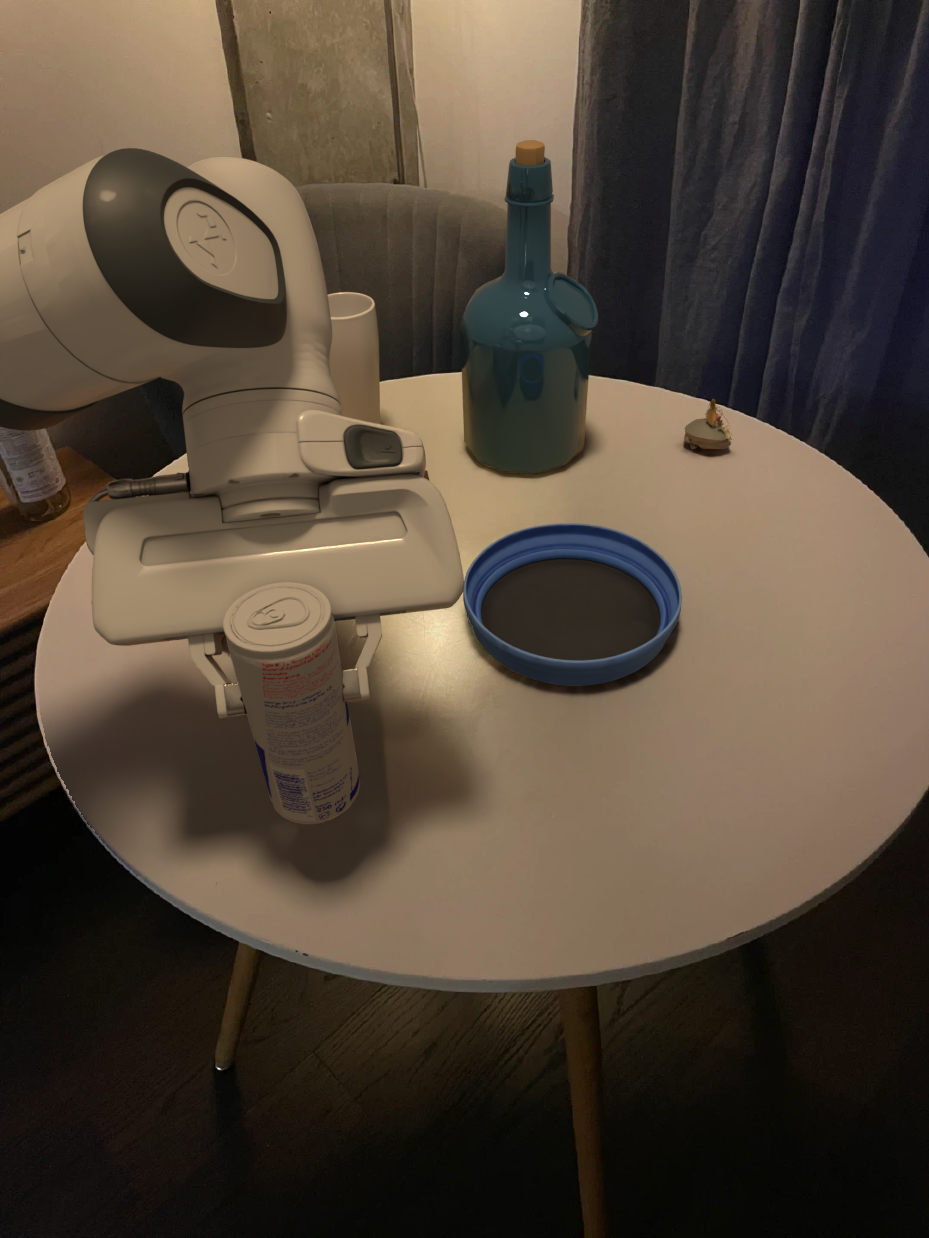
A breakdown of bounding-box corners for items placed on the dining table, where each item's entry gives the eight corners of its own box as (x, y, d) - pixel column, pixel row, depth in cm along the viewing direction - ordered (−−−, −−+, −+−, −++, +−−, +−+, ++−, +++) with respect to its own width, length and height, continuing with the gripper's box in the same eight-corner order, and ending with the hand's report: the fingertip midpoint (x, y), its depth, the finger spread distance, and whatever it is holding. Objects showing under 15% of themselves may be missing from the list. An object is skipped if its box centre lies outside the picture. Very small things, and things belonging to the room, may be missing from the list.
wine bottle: (444, 465, 94) (428, 158, 74) (490, 407, 103) (487, 119, 83) (567, 490, 90) (586, 172, 70) (604, 427, 99) (629, 129, 79)
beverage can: (378, 777, 56) (353, 599, 46) (324, 843, 53) (285, 665, 43) (308, 744, 58) (270, 566, 48) (252, 805, 55) (198, 627, 45)
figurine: (675, 449, 95) (683, 399, 91) (691, 431, 98) (699, 381, 94) (722, 463, 93) (732, 411, 89) (737, 444, 96) (748, 393, 92)
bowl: (719, 617, 75) (727, 585, 73) (578, 730, 66) (581, 698, 64) (562, 528, 85) (564, 497, 83) (421, 616, 76) (418, 585, 74)
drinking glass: (374, 455, 96) (359, 321, 86) (317, 446, 98) (296, 314, 88) (397, 425, 101) (385, 295, 91) (343, 416, 103) (326, 288, 93)
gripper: (59, 470, 46) (86, 736, 45) (449, 432, 48) (481, 686, 47) (98, 494, 52) (122, 728, 52) (441, 460, 54) (469, 684, 54)
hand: (297, 708), depth 49 cm, fingers closed on beverage can, 5 cm apart
